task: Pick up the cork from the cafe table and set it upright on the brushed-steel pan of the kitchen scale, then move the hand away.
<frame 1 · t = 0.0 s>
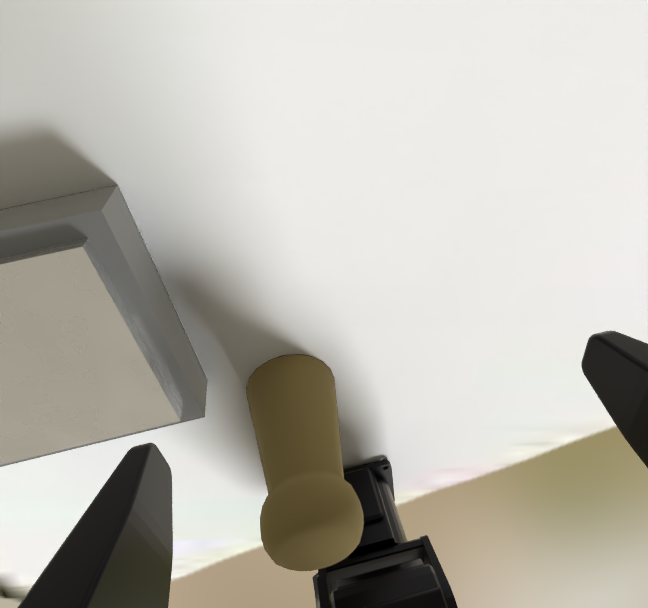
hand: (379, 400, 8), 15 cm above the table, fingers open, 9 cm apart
kitchen scale: (59, 323, 23), on the table
cork: (290, 385, 29), on the table
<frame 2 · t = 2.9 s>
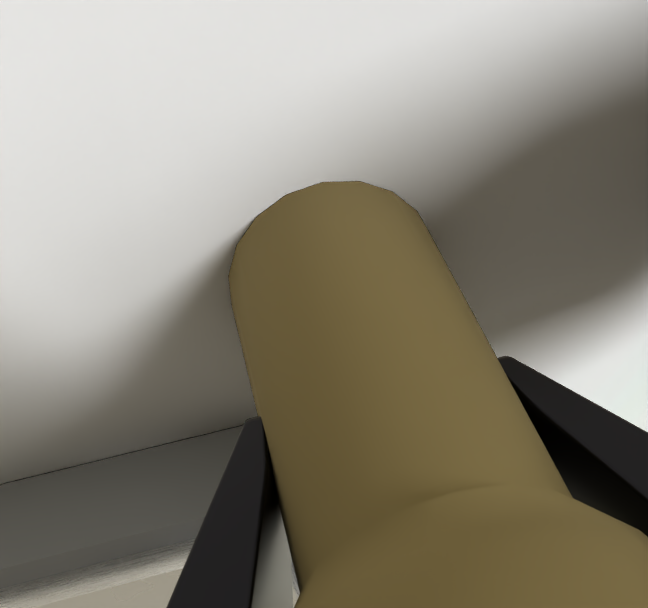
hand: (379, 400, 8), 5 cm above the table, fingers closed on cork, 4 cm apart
kitchen scale: (166, 540, 18), on the table
cork: (333, 279, 12), on the table, touching gripper
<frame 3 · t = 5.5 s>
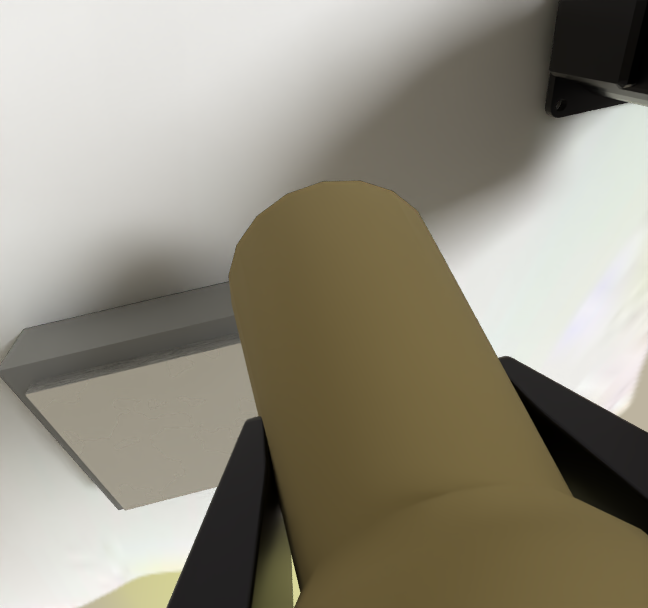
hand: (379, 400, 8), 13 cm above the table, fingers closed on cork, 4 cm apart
kitchen scale: (194, 380, 25), on the table
cork: (333, 279, 12), point 8 cm above the table, touching gripper
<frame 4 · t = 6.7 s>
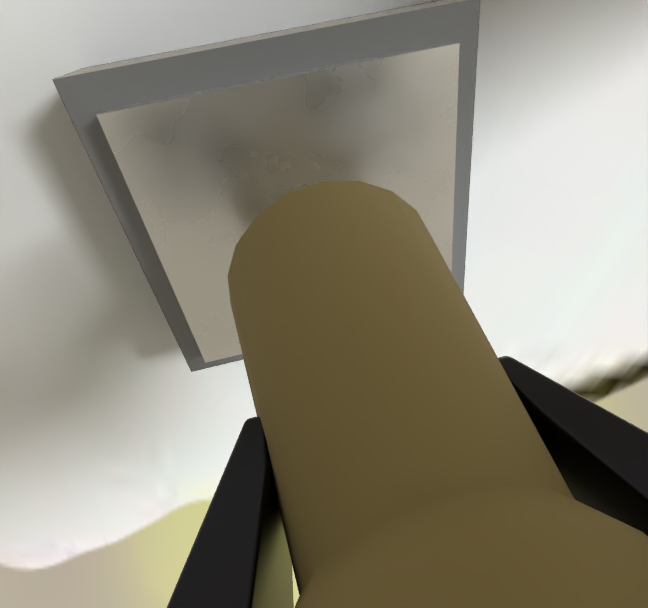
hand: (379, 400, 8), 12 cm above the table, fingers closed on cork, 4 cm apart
kitchen scale: (297, 193, 18), on the table
cork: (333, 279, 12), point 8 cm above the table, touching gripper
when the fingers open (9 cm above the table, at t = 8.0 s): cork stays where it is, resting on kitchen scale.
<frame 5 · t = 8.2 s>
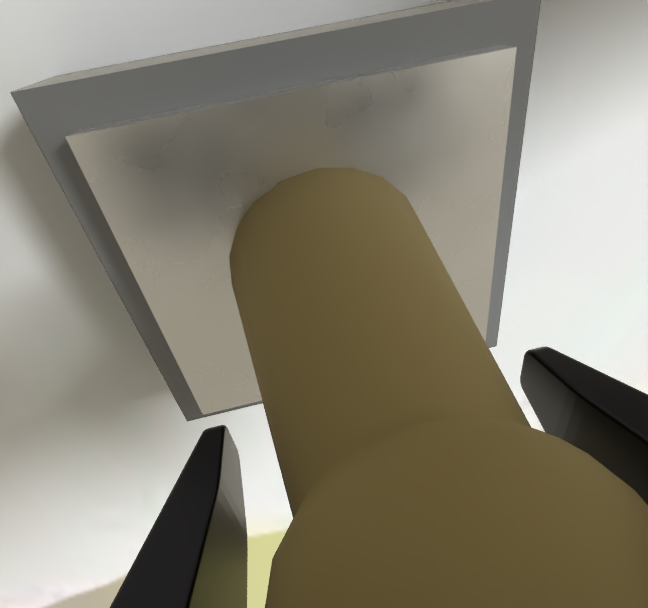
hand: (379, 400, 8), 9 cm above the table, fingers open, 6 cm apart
kitchen scale: (309, 218, 16), on the table
cork: (328, 262, 13), point 4 cm above the table, touching kitchen scale
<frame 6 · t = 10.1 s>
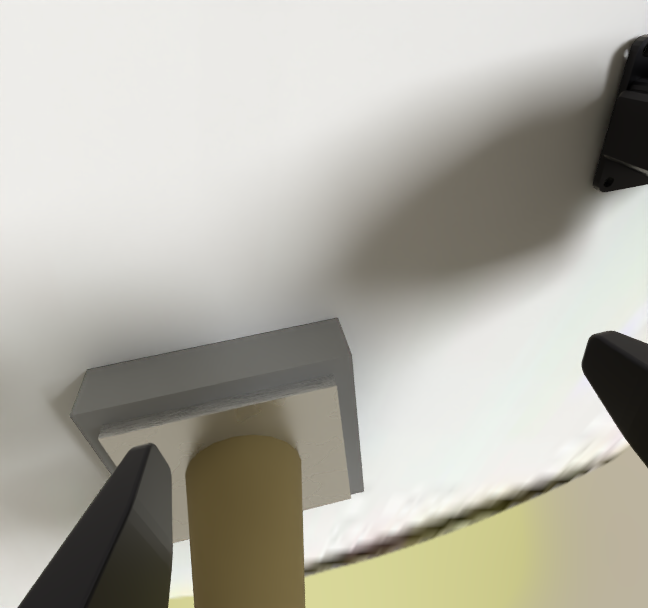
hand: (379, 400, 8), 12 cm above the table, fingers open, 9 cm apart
kitchen scale: (241, 417, 25), on the table
cork: (244, 469, 22), point 4 cm above the table, touching kitchen scale
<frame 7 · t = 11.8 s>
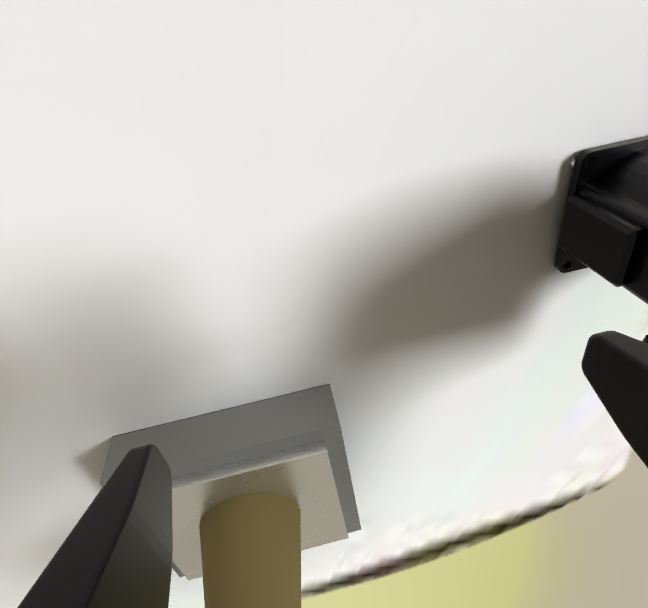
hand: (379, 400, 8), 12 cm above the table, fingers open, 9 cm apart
kitchen scale: (248, 467, 28), on the table
cork: (251, 518, 25), point 4 cm above the table, touching kitchen scale
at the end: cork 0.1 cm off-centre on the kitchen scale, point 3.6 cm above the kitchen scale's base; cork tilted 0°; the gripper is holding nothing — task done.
